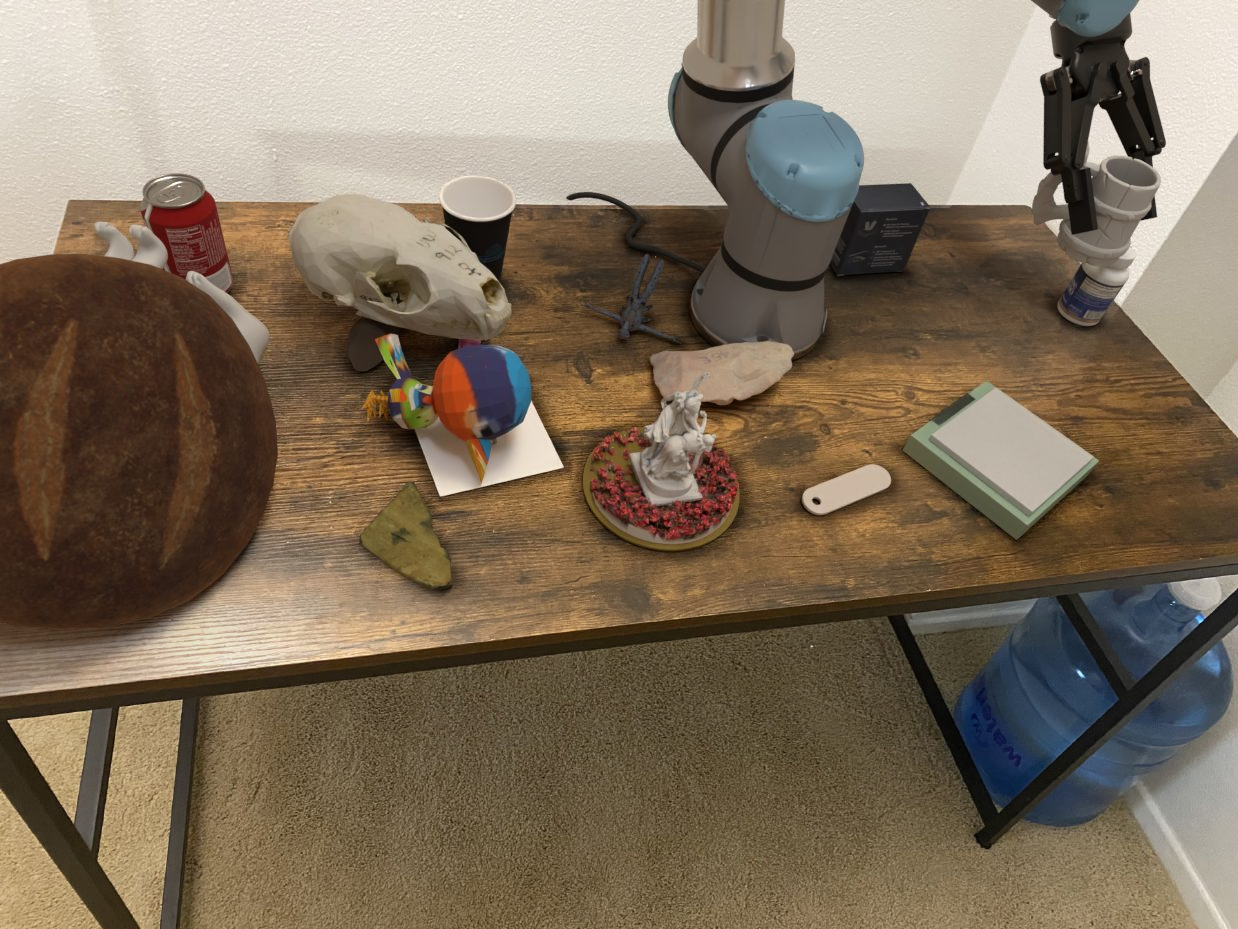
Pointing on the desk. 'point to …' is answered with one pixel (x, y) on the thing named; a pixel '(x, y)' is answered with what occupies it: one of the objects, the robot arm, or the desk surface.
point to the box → (880, 230)
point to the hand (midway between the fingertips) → (1114, 225)
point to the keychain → (846, 489)
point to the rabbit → (157, 256)
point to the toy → (458, 395)
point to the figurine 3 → (664, 480)
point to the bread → (122, 441)
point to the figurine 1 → (368, 340)
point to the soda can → (187, 227)
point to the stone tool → (723, 370)
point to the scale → (1000, 458)
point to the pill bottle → (1094, 290)
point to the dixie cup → (480, 216)
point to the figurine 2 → (637, 303)
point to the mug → (1102, 208)
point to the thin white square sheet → (508, 459)
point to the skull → (397, 268)
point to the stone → (409, 541)
